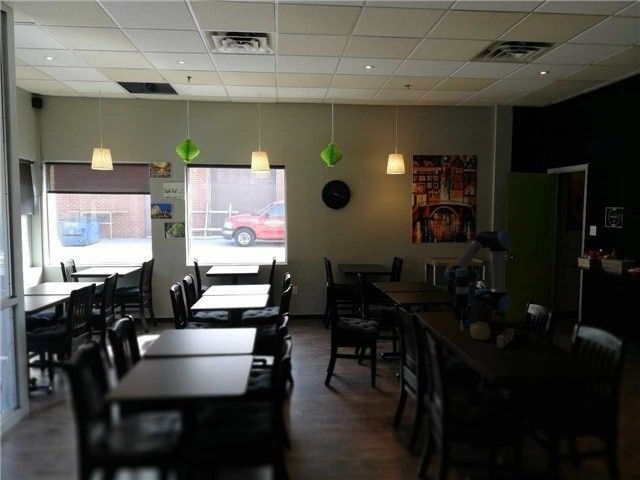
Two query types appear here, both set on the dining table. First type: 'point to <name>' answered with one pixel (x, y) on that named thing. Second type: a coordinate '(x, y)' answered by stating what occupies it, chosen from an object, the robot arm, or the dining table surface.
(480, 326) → the sculpture
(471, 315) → the wine bottle
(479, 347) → the dining table surface
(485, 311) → the canister
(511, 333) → the board
